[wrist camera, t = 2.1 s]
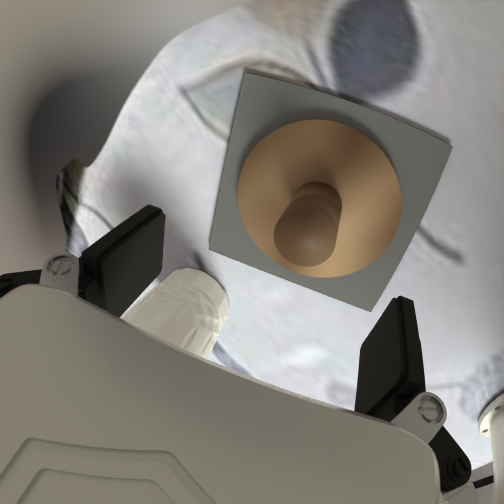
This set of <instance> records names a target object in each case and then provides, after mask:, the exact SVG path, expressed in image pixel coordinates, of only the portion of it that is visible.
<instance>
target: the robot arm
mask: <svg viewBox="0 0 504 504" xmlns="http://www.w3.org/2000/svg"><path fill="white" fill-rule="evenodd" d="M164 228H165V214H164V213H163V211H162V209H161V208H158V207H155V206H152V205H147V206H145V207H144V208H142V209H141V210H139V211H138V212H136V213H135V214H134V215H132V216H131V217H129V218H128V219H126V220H125V221H124V222H122V223H121V224H119V225H118V226H117V227H115V228H114V229H112V230H111V231H110V232H108V233H107V234H106V235H104V236H103V237H102V238H100V239H99V240H98V241H96V242H95V243H94V244H92V245H91V246H90V247H88V248H87V249H86V250H84V251H83V252H82V256H81V257H79V258H77V257H76V256H75V255H73V254H70V253H58V254H55V255H52V256H51V257H49V258H48V259H47V260H46V261H45V262H44V265H43V268H42V269H41V270H32V271H24V272H16V273H7V274H3V275H1V276H0V504H480V501H479V498H478V496H477V493H476V490H475V488H474V485H473V483H471V484H469V482H468V480H469V478H470V476H471V463H470V460H469V459H468V457H467V456H466V454H465V453H464V452H463V450H462V449H461V448H460V447H459V445H458V444H457V443H456V441H455V440H454V439H453V438H452V436H451V435H450V434H449V433H448V431H447V430H446V429H445V427H444V426H443V424H444V423H445V421H446V417H447V412H446V407H445V405H444V403H443V402H442V400H441V399H440V398H439V397H438V396H437V395H435V394H433V393H431V392H426V388H425V376H424V366H423V357H422V349H421V342H420V339H419V333H418V326H417V320H416V314H415V308H414V302H413V300H410V299H408V298H405V297H403V296H398V297H397V298H393V299H392V300H391V302H390V303H389V305H388V306H387V308H386V309H385V311H384V312H383V314H382V316H381V317H380V319H379V320H378V322H377V323H376V325H375V326H374V328H373V329H372V330H371V332H370V333H369V335H368V336H367V338H366V339H365V341H364V342H363V344H362V346H361V349H360V358H359V370H358V382H357V392H356V401H355V410H354V411H352V410H348V409H345V408H342V407H338V406H335V405H332V404H329V403H325V402H322V401H319V400H316V399H312V398H309V397H306V396H303V395H300V394H297V393H294V392H291V391H288V390H285V389H282V388H280V387H277V386H274V385H271V384H268V383H266V382H263V381H260V380H258V379H255V378H252V377H250V376H247V375H244V374H242V373H239V372H237V371H234V370H232V369H229V368H227V367H224V366H222V365H219V364H217V363H215V362H212V361H210V360H207V359H205V358H203V357H200V356H198V355H196V354H194V353H191V352H189V351H187V350H185V349H182V348H180V347H178V346H176V345H174V344H171V343H169V342H167V341H165V340H163V339H161V338H159V337H157V336H155V335H152V334H150V333H148V332H146V331H144V330H142V329H140V328H138V327H136V326H134V325H132V324H130V323H128V322H127V321H125V320H123V319H121V318H120V317H121V315H122V314H123V313H124V312H125V311H126V310H127V309H128V308H129V307H130V305H131V304H132V303H133V302H134V301H135V300H136V299H137V298H138V297H139V296H140V295H141V293H142V292H143V291H144V290H145V289H146V288H147V287H148V286H149V285H150V284H151V283H152V282H153V280H154V279H155V278H156V277H157V276H158V275H159V274H160V272H161V269H162V258H163V242H164ZM478 426H479V432H480V434H481V435H483V436H485V437H488V438H491V442H492V454H493V467H494V468H493V469H494V504H504V393H503V394H501V395H500V396H498V397H497V398H496V399H495V400H494V401H492V402H491V403H490V404H489V405H488V407H487V408H486V409H485V410H484V411H483V413H482V414H481V416H480V418H479V422H478Z"/></svg>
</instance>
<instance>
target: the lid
mask: <svg viewBox="0 0 504 504" xmlns="http://www.w3.org/2000/svg"><path fill="white" fill-rule="evenodd" d="M238 205H239V210H240V214H241V218H242V221H243V223H244V226H245V228H246V230H247V232H248V234H249V235H250V237H251V238H252V240H253V241H254V243H255V244H256V245H257V246H258V247H259V248H260V250H261V251H262V252H263V253H265V254H266V255H267V256H268V257H269V258H270V259H272V260H273V261H274V262H276V263H277V264H279V265H281V266H283V267H284V268H286V269H289V270H291V271H293V272H296V273H299V274H302V275H306V276H311V277H321V278H328V277H338V276H344V275H347V274H351V273H354V272H356V271H359V270H361V269H363V268H364V267H366V266H368V265H369V264H371V263H372V262H373V261H375V260H376V259H377V258H378V257H379V256H380V255H381V254H382V253H383V252H384V251H385V250H386V249H387V247H388V246H389V245H390V243H391V241H392V239H393V238H394V236H395V234H396V231H397V229H398V226H399V222H400V218H401V209H402V198H401V190H400V185H399V182H398V179H397V176H396V173H395V171H394V169H393V167H392V165H391V163H390V161H389V159H388V158H387V156H386V155H385V154H384V152H383V151H382V150H381V149H380V147H379V146H378V145H377V144H376V143H375V142H374V141H372V140H371V139H370V138H369V137H368V136H366V135H365V134H363V133H362V132H360V131H358V130H357V129H355V128H353V127H350V126H348V125H346V124H343V123H339V122H336V121H331V120H323V119H310V120H303V121H298V122H294V123H291V124H288V125H285V126H283V127H281V128H279V129H277V130H275V131H273V132H272V133H270V134H269V135H267V136H266V137H265V138H263V139H262V140H261V141H260V142H259V143H258V144H257V145H256V146H255V148H254V149H253V150H252V151H251V153H250V154H249V156H248V157H247V159H246V161H245V163H244V165H243V168H242V170H241V174H240V177H239V183H238Z"/></svg>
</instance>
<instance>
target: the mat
mask: <svg viewBox="0 0 504 504" xmlns="http://www.w3.org/2000/svg"><path fill="white" fill-rule="evenodd" d="M310 119H323V120H331V121H336V122H339V123H343V124H346V125H348V126H350V127H353V128H355V129H357V130H358V131H360V132H362V133H363V134H365V135H366V136H368V137H369V138H370V139H371V140H372V141H374V142H375V143H376V144H377V145H378V146H379V147H380V149H381V150H382V151H383V152H384V154H385V155H386V156H387V158H388V159H389V161H390V163H391V165H392V167H393V169H394V171H395V173H396V176H397V179H398V182H399V185H400V190H401V198H402V209H401V218H400V222H399V226H398V229H397V231H396V234H395V236H394V238H393V239H392V241H391V243H390V245H389V246H388V247H387V249H386V250H385V251H384V252H383V253H382V254H381V255H380V256H379V257H378V258H377V259H376V260H375V261H373V262H372V263H371V264H369V265H368V266H366V267H364V268H363V269H361V270H359V271H356V272H354V273H351V274H347V275H344V276H338V277H328V278H321V277H311V276H306V275H302V274H299V273H296V272H293V271H291V270H289V269H286V268H284V267H283V266H281V265H279V264H277V263H276V262H274V261H273V260H272V259H270V258H269V257H268V256H267V255H266V254H265V253H263V252H262V251H261V250H260V248H259V247H258V246H257V245H256V244H255V243H254V241H253V240H252V238H251V237H250V235H249V234H248V232H247V230H246V228H245V226H244V223H243V221H242V218H241V214H240V210H239V205H238V183H239V177H240V174H241V170H242V168H243V165H244V163H245V161H246V159H247V157H248V156H249V154H250V153H251V151H252V150H253V149H254V148H255V146H256V145H257V144H258V143H259V142H260V141H261V140H262V139H263V138H265V137H266V136H267V135H269V134H270V133H272V132H273V131H275V130H277V129H279V128H281V127H283V126H285V125H288V124H291V123H294V122H298V121H303V120H310ZM452 147H453V146H451V145H449V144H447V143H445V142H444V141H442V140H440V139H438V138H436V137H434V136H432V135H430V134H427V133H425V132H423V131H421V130H419V129H417V128H415V127H412V126H410V125H408V124H406V123H404V122H401V121H399V120H397V119H394V118H392V117H389V116H387V115H385V114H382V113H380V112H377V111H374V110H372V109H369V108H367V107H364V106H361V105H359V104H356V103H353V102H350V101H347V100H344V99H341V98H338V97H335V96H332V95H329V94H326V93H323V92H320V91H316V90H313V89H310V88H306V87H302V86H299V85H295V84H291V83H288V82H284V81H280V80H276V79H272V78H267V77H263V76H258V75H254V74H249V73H245V74H244V79H243V83H242V87H241V91H240V96H239V100H238V104H237V109H236V113H235V118H234V123H233V127H232V132H231V136H230V141H229V146H228V151H227V156H226V160H225V165H224V170H223V175H222V180H221V186H220V191H219V196H218V201H217V207H216V212H215V217H214V223H213V228H212V234H211V240H210V245H209V250H211V251H213V252H216V253H219V254H221V255H224V256H226V257H229V258H231V259H234V260H236V261H239V262H241V263H244V264H247V265H249V266H252V267H254V268H257V269H259V270H262V271H265V272H267V273H270V274H272V275H275V276H277V277H280V278H283V279H285V280H288V281H290V282H293V283H296V284H298V285H301V286H303V287H306V288H309V289H311V290H314V291H316V292H319V293H322V294H324V295H327V296H330V297H332V298H335V299H337V300H340V301H343V302H345V303H348V304H351V305H353V306H356V307H359V308H361V309H364V310H367V311H369V312H371V311H372V309H373V308H374V306H375V305H376V303H377V301H378V300H379V298H380V296H381V295H382V293H383V291H384V289H385V288H386V286H387V284H388V283H389V281H390V279H391V277H392V275H393V274H394V272H395V270H396V268H397V266H398V265H399V263H400V261H401V259H402V257H403V255H404V253H405V252H406V250H407V248H408V246H409V244H410V242H411V240H412V238H413V236H414V234H415V232H416V230H417V228H418V226H419V224H420V222H421V220H422V218H423V216H424V213H425V211H426V209H427V207H428V205H429V203H430V200H431V198H432V196H433V194H434V191H435V189H436V187H437V184H438V182H439V180H440V177H441V175H442V173H443V170H444V168H445V165H446V163H447V160H448V157H449V155H450V152H451V150H452Z"/></svg>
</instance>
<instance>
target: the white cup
mask: <svg viewBox="0 0 504 504" xmlns="http://www.w3.org/2000/svg"><path fill="white" fill-rule="evenodd" d="M229 309H230V305H229V301H228V297H227V294H226V292H225V291H224V290H223V288H222V287H221V286H220V284H219V283H218V282H217V281H216V280H215V279H213V278H212V277H211V276H209V275H208V274H206V273H205V272H203V271H200V270H196V269H192V268H188V267H187V268H182V269H177V270H174V271H173V272H172V273H171V274H170V275H169V276H168V277H167V278H166V279H165V280H164V281H163V282H161V283H160V284H159V285H158V286H156V287H154V288H153V289H152V290H151V291H149V292H148V293H147V294H146V295H145V296H144V297H143V298H142V299H140V300H139V301H138V302H137V303H136V304H134V305H133V306H132V307H131V308H130V309H129V310H128V311H127V312H126V313H125V314H124V315H123V316H122V317H121V319H123V320H125V321H127V322H128V323H130V324H132V325H134V326H136V327H138V328H140V329H142V330H144V331H146V332H148V333H150V334H152V335H155V336H157V337H159V338H161V339H163V340H165V341H167V342H169V343H171V344H174V345H176V346H178V347H180V348H182V349H185V350H187V351H189V352H191V353H194V354H196V355H198V356H200V357H203V358H205V359H208V356H209V354H210V352H211V350H212V348H213V346H214V344H215V342H216V340H217V338H218V336H219V334H220V330H221V328H222V326H223V324H224V323H225V321H226V319H227V316H228V313H229Z"/></svg>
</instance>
